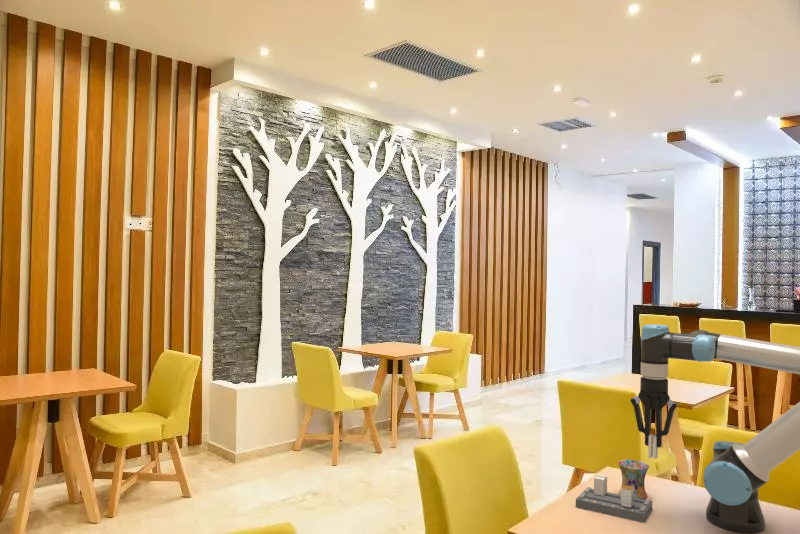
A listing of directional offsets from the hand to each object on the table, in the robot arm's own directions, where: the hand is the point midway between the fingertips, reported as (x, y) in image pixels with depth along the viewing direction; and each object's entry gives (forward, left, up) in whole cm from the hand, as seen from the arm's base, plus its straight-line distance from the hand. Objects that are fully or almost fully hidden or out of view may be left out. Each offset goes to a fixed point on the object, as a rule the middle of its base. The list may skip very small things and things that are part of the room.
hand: (653, 457), depth 180 cm
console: (+12, -2, -18) cm, 22 cm away
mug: (+10, -18, -19) cm, 27 cm away
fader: (+7, 0, -16) cm, 17 cm away
